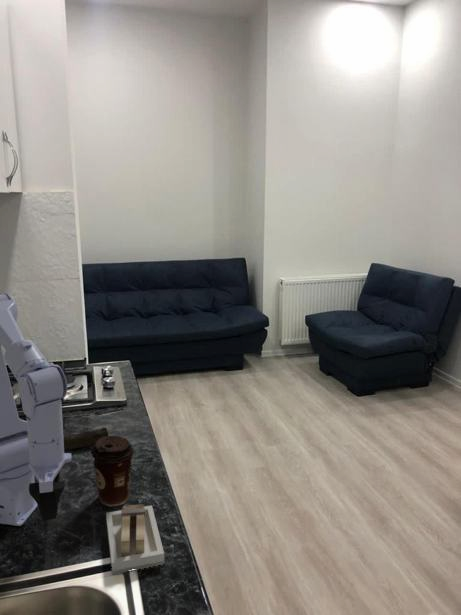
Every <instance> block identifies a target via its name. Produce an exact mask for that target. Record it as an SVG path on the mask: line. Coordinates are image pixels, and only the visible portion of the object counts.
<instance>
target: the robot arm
mask: <svg viewBox="0 0 461 615" xmlns="http://www.w3.org/2000/svg"><path fill="white" fill-rule="evenodd" d="M17 318H18V305H17V302H16V300H15V298H14V297H13V295H11V293H9V292H5V293H3V294H0V524H1V525H11V526H17V527H20V526H22V525H24V524H25V522H26V521H27V520H28V519H29V517H30V516H31V515H32V513H34V511H35V510H36V509H37V508H38V510H39V514H40V516H41V518H42V520H43V521H47V520H48V521H49V520H55V519H56V518H57V515H58V509H59V502H60V499H61V496H62V494H63V492H64V490H65V487H66V481H65V480H61V481H59V480H60V475H61V474H60V473H61V470H62V469H63V466H64V465H65V464H66V463H71V462H72V458H73V457H72V453H71V452H66V451H64V439H63V437H64V423H63V406H62V404H63V403H62V399H64V398H65V397H67V394H68V382H67V377H66V375H65V372H64V371H63V370H62V369H63V368H61V366H60V365H58V364H54V363H53V362H48V361H47V359H46V358H45V356H44V355H43V353H42V352H41V350H40V348H39V347H38V346H37V344H36V343H35V341H33V340H31V339H25V337H24V335H23V332H22V331H21V329H20V327H19V325H18V323H17ZM3 348H4V350H5V352H3ZM6 364H7V365H6ZM7 366H8V368H9V369H10V371H11V374H13V376H14V378H15V379H16V381H17V383H18V384H17V390H18V394H19V397H20V400H21V406H22V407H21V408H22V410H23V411H22V412H23V413H24V415H25V417H26V420H24V419H22V418H20V417H19V413H18V409H17V405H16V401H15V398H14V393H13V387H12V386H11V385H12V384H11V381H10V376H9V373H8V369H7ZM18 433H21V434H18ZM15 434H17V435H15ZM13 435H15V436H13ZM9 436H11V437H9ZM6 437H7V438H6ZM3 438H5V439H3ZM1 439H2V440H1ZM35 478H36V479H37V481H38V482H35Z"/></svg>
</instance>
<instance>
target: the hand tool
mask: <svg viewBox="0 0 461 615" xmlns="http://www.w3.org/2000/svg"><path fill="white" fill-rule="evenodd" d="M107 436H109V431H108V428H107V427H102V428H101V429H96V430H90V431H89V430H88V431H82V432H81V433H77V434H72V435H67V436H66V435H65V436H64V435H63V439H64V452H66V451H69V450H74V449H78V448H83V447H89V446H94V445H95V444H96V442H97V441H98V440H99V439H100V438H102V437H107Z"/></svg>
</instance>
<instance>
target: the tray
mask: <svg viewBox="0 0 461 615" xmlns="http://www.w3.org/2000/svg"><path fill="white" fill-rule="evenodd" d="M144 509H145V516H144V553H142V554H137V555H136V528H131V533H130V556H126V557H121V533H122V517H121V512H122V510H123V509H121V510H115V511H109V512H108V511H107V512H106V513H105V514H106V515H105V517H106V518H105V520H106V530H107V531H106V532H107V540H108V541H107V542H108V547H109V550H108V551H109V556H110V557H109V558H111V559H110V566H111V567H112V568H111V574H112V576H116V575H119V574H125V573H124V572H126V571H128V570H132V569H141V570H145V569H144V568H146V569H150V568H149V567H151V568H154V567H153V566H156V567H159V566H158V565H161V566H164V565H165V551H164V547H163V544H162V539H161V535H160V532H159V528H158V524H157V520H156V516H155V513H154V512H155V511H154V508H153V505H144ZM163 564H164V565H163ZM126 573H127V572H126Z"/></svg>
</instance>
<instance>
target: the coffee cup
mask: <svg viewBox="0 0 461 615" xmlns="http://www.w3.org/2000/svg"><path fill="white" fill-rule="evenodd" d="M90 455H92V458H93V468H94V475H95V476H94V477H95V482H96V487H97V491H98V500H99V501H100V503H101V504H102V505H105V506H107V507H118V506H122V505H123V504H125V503H126V502H127V501H128V500H129V497H130V489H131V488H130V486H131V475H132V474H131V470H132V458H133V455H134V448H133V446H132V444H130V441H129V440H128V439H127V438H125V437H122V436H119V435H108V436H107V437H102V438H100V439H99V440H98V441H97V442H96V444H95V445H93V447H92V448H91V450H90Z"/></svg>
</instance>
